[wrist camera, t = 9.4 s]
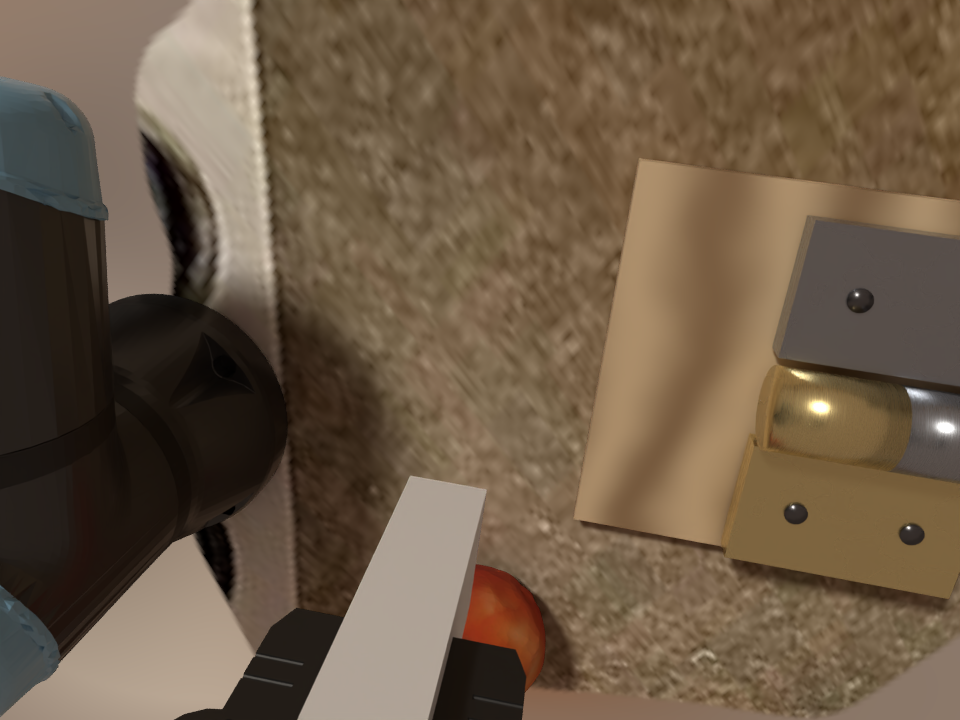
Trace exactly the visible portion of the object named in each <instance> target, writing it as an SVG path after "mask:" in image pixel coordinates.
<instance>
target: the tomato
mask: <svg viewBox="0 0 960 720" xmlns="http://www.w3.org/2000/svg"><path fill="white" fill-rule="evenodd" d="M462 639H466V640H471V641H476V642H481V643H486V644H491V645H496V646H501V647H506V648H511V649H516V651H517V654H518V656H519V659H520V661H521V664H522V666H523V669H524V671H525V674H526V686H525V692H526V691H527V690H528V689H529V687H530V686H531V685H532V684H533V682H534V681H535V680H536V678H537V677H538V675H539V673H540V672H541V669H542V666H543V663H544V656H545V642H546V640H545V629H544V624H543V620H542V616H541V612H540V610H539V607H538V606H537V604H536V602H535V600H534V598H533V595H532V594H531V592H530V591H529V590H527V589H526V588H525V587H523V586H521V585H520V583H519V582H518V581H517V580H516V579H515V578H514V577H513V576H511V575H510V574H508V573H506V572H504V571H501V570H498V569H495V568H492V567H488V566H483V565H477V564H476V566H475V572H474V579H473V586H472V593H471V599H470V606H469V610H468V615H467V619H466V623H465V628H464V632H463V636H462Z"/></svg>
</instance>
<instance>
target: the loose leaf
mask: <svg viewBox="0 0 960 720" xmlns="http://www.w3.org/2000/svg"><path fill="white" fill-rule="evenodd" d="M911 426H912V405H911V400H910V396H909V394H908V392H907V390H906V389H905V387H904V386H902V385H900V384H894V383H887V382H881V381H875V380H868V379H862V378H856V377H849V376H843V375H837V374H831V373H824V372H818V371H812V370H805V369H799V368H793V367H786V366H780V365H773V366H772V367H771V368H770V369H769V371H768V373H767V374H766V377H765V379H764V382H763V384H762V388H761V391H760V395H759V400H758V405H757V412H756V424H755V432H756V434H751V433H749V436H748V440H747V444H746V447H745V451H744V455H743V459H742V462H741V466H740V470H739V474H738V477H737V481H736V485H735V489H734V492H733V496H732V500H731V504H730V508H729V511H728V515H727V519H726V523H725V526H724V530H723V534H722V538H721V545H722V549H723V553H724V557H727V558H732V559H737V560H743V561H748V562H753V563H759V564H764V565H769V566H775V567H780V568H785V569H791V570H796V571H801V572H807V573H812V574H817V575H823V576H828V577H833V578H839V579H844V580H849V581H855V582H860V583H865V584H871V585H876V586H881V587H887V588H892V589H898V590H903V591H908V592H914V593H919V594H924V595H930V596H935V597H940V598H946V599H949V598H950V595H951V593H952V590H953V588H954V585H955V583H956V580H957V578H958V575H959V573H960V484H957V483H951V482H945V481H939V480H933V479H927V478H922V477H916V476H910V475H904V474H898V473H892V472H887V471H890V470H892V469H893V468H895V467H896V466H897V465H898V463H899V462H900V460H901V459H902V457H903V455H904V453H905V450H906V448H907V445H908V442H909V438H910V433H911Z"/></svg>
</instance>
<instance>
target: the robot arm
mask: <svg viewBox="0 0 960 720" xmlns="http://www.w3.org/2000/svg"><path fill="white" fill-rule="evenodd" d="M104 220H108V210H107V207H106V206H105V205H104V204H103V203H102V197H101V189H100V181H99V174H98V167H97V159H96V150H95V141H94V135H93V132H92V128H91V126H90V124H89V122H88V120H87V118H86V117H85V115H84V114H83V112H82V111H81V110H80V109H79V108H78V107H77V106H76V105H75V104H74V103H73V102H72V101H71V100H69V99H68V98H67V97H65V96H64V95H62V94H60V93H58V92H56V91H54V90H52V89H49V88H46V87H43V86H39V85H35V84H32V83H27V82H23V81H19V80H14V79H10V78H5V77H1V76H0V717H1V716H2V715H3V714H4V713H5V712H6V711H7V710H9V709H10V708H11V707H12V706H13V705H14V704H15V703H16V702H17V701H18V700H19V699H20V698H21V697H23V695H25V693H27V692H28V691H29V690H30V689H31V688H32V687H34V686H35V685H36V684H38V683H40V682H42V681H45V680H46V679H48V678H49V677H50V676H51V675H52V674H53V673H54V672H55V671H56V669H57V668H58V664H59V663H60V661H61V660H62V659H63V658H64V657H65V656H66V655H67V654H68V653H69V652H70V651H71V649H73V647H74V646H75V645H76V644H77V643H78V642H79V641H80V640H81V639H82V638H83V637H84V636H85V635H86V634H87V633H88V631H89V630H90V629H91V628H92V627H93V626H94V625H95V624H96V623H97V622H98V621H99V620H100V619H101V618H102V617H103V616H104V614H105V613H106V612H107V611H108V610H109V609H110V608H111V607H112V606H113V605H114V603H116V602H117V601H118V599H119V598H120V597H121V596H122V595H123V594H124V593H125V592H126V591H127V590H128V589H129V588H130V587H131V586H132V584H133V583H134V582H135V581H136V580H137V579H138V578H139V577H140V576H141V575H142V574H143V573H144V572H145V571H146V570H147V569H148V568H149V566H150V565H151V564H152V563H153V562H154V561H155V560H156V559H157V558H158V557H159V556H160V555H161V554H162V553H163V552H164V551H165V550H166V549H167V548H168V547H169V546H170V544H172V542H175V541H177V540H179V539H182V538H184V537H186V536H189V535H191V534H193V533H196V532H198V531H200V530H202V529H203V528H205V527H209V526H212V525H214V524H217V523H219V522H222V521H224V520H226V519H228V518H230V517H231V516H233V515H235V514H236V513H238V512H239V511H240V510H242V509H243V508H244V507H245V506H247V505H248V504H249V503H250V502H251V501H252V500H253V499H254V498H255V497H256V496H257V494H258V493H259V492H260V491H261V490H262V489H263V488H264V486H265V485H266V484H267V483H268V482H269V480H270V479H271V478H272V476H273V475H274V473H275V471H276V470H277V468H278V466H279V464H280V461H281V459H282V456H283V453H284V449H285V445H286V438H287V414H286V407H285V402H284V398H283V394H282V391H281V388H280V385H279V383H278V380H277V378H276V376H275V374H274V372H273V370H272V368H271V366H270V365H269V363H268V361H267V360H266V358H265V357H264V355H263V354H262V352H261V351H260V350H259V348H258V347H257V346H256V345H255V344H254V342H253V341H252V340H251V339H250V338H249V337H248V336H247V335H246V334H245V333H244V332H243V331H242V330H241V329H240V328H238V327H237V326H236V325H235V324H234V323H232V322H231V321H230V320H228V319H227V318H225V317H224V316H222V315H221V314H219V313H217V312H216V311H214V310H212V309H210V308H208V307H206V306H204V305H202V304H200V303H197V302H194V301H192V300H189V299H185V298H182V297H177V296H172V295H164V294H142V295H135V296H130V297H126V298H123V299H120V300H117V301H115V302H112V303H110V304H109V302H108V286H107V285H108V284H107V263H106V244H105V243H106V242H105V223H104ZM486 492H487V490H486V489H481V488H476V487H470V486H465V485H459V484H454V483H448V482H443V481H437V480H432V479H426V478H421V477H415V476H410V477H409V479H408V481H407V484H406V486H405V488H404V490H403V492H402V494H401V497H400V499H399V501H398V503H397V505H396V507H395V510H394V512H393V514H392V516H391V518H390V520H389V523H388V525H387V527H386V529H385V531H384V533H383V536H382V538H381V540H380V542H379V544H378V546H377V548H376V551H375V553H374V555H373V557H372V559H371V561H370V564H369V566H368V568H367V570H366V572H365V574H364V577H363V579H362V581H361V583H360V585H359V587H358V590H357V592H356V594H355V596H354V598H353V600H352V602H351V605H350V607H349V609H348V611H347V613H346V615H345V617H340V616H335V615H330V614H325V613H320V612H315V611H310V610H305V609H300V608H296V609H294V610H293V611H292V612H290V613H289V614H288V615H286V616H285V617H284V618H282V619H281V620H280V621H278V622H277V623H276V624H274V625H273V626H272V627H271V628H270V630H269V631H268V633H267V635H266V637H265V638H264V640H263V642H262V643H261V645H260V647H259V648H258V650H257V652H256V656H255V657H253V659H252V660H251V662H250V664H249V665H248V667H247V669H246V670H245V672H244V676H243V678H241V679H240V681H239V682H238V684H237V686H236V687H235V689H234V691H233V693H232V694H231V696H230V698H229V699H228V701H227V703H226V704H225V706H224V708H223V709H204V710H200V711H196V712H192V713H187V714H184V715H182V716H180V717H178V718H177V719H175V720H522V713H523V704H524V693H525V686H526V674H525V671H524V669H523V666H522V664H521V661H520V659H519V656H518V654H517V651H516V649H511V648H506V647H501V646H496V645H491V644H486V643H481V642H476V641H471V640H466V639H462V636H463V632H464V628H465V623H466V619H467V615H468V610H469V606H470V599H471V593H472V586H473V579H474V572H475V566H476V559H477V552H478V546H479V539H480V532H481V525H482V519H483V512H484V505H485V499H486Z"/></svg>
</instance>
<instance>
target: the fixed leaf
mask: <svg viewBox="0 0 960 720" xmlns="http://www.w3.org/2000/svg"><path fill="white" fill-rule="evenodd" d="M772 349H773V350H774V352H775V353H776V355H777V357H778V358H782V359H789V360H795V361H801V362H808V363H814V364H820V365H827V366H833V367H840V368H846V369H852V370H859V371H865V372H871V373H878V374H884V375H890V376H897V377H903V378H909V379H916V380H922V381H928V382H935V383H941V384H947V385H954V386H960V236H958V235H951V234H943V233H936V232H929V231H922V230H914V229H907V228H900V227H892V226H885V225H878V224H870V223H863V222H856V221H849V220H841V219H834V218H827V217H819V216H812V215H807V218H806V222H805V226H804V229H803V233H802V237H801V241H800V244H799V248H798V252H797V256H796V259H795V263H794V267H793V271H792V275H791V278H790V282H789V286H788V290H787V293H786V297H785V301H784V305H783V308H782V312H781V316H780V320H779V323H778V327H777V331H776V335H775V338H774V342H773V346H772ZM902 386H904V387H905V389H906V390H907V392H908V394H909V396H910V400H911V405H912V426H911V433H910V438H909V442H908V445H907V448H906V450H905V453H904V455H903V457H902V459H901V460H900V462H899V463H898V465H897V466H896V467H895V468H893V469H892V470H890V471H887V472H892V473H898V474H904V475H910V476H916V477H922V478H927V479H933V480H939V481H945V482H951V483H957V484H960V394H957V393H950V392H944V391H938V390H931V389H925V388H919V387H912V386H906V385H902Z"/></svg>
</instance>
